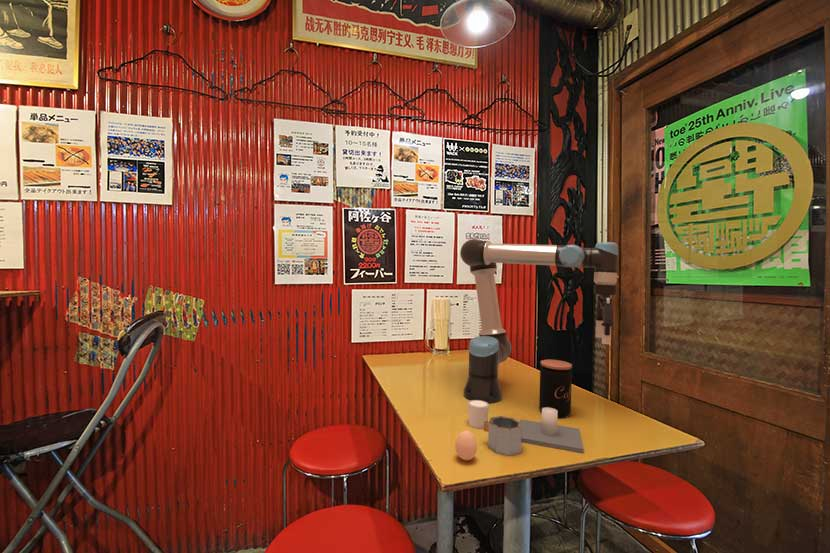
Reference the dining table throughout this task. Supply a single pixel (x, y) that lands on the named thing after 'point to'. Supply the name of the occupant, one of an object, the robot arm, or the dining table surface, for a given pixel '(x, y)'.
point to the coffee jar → (556, 386)
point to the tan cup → (477, 413)
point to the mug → (504, 435)
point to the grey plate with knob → (551, 433)
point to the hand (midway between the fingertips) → (602, 340)
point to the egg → (466, 445)
